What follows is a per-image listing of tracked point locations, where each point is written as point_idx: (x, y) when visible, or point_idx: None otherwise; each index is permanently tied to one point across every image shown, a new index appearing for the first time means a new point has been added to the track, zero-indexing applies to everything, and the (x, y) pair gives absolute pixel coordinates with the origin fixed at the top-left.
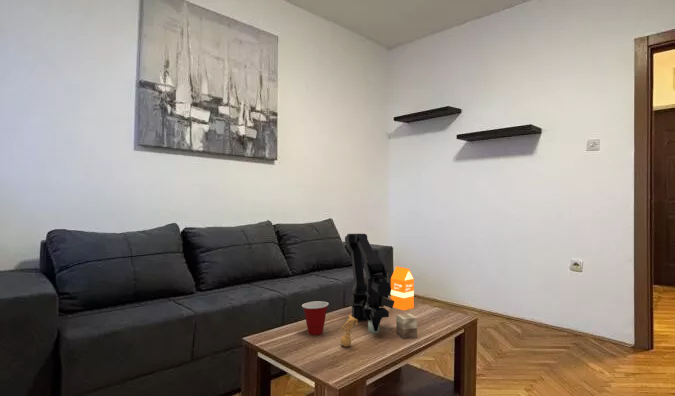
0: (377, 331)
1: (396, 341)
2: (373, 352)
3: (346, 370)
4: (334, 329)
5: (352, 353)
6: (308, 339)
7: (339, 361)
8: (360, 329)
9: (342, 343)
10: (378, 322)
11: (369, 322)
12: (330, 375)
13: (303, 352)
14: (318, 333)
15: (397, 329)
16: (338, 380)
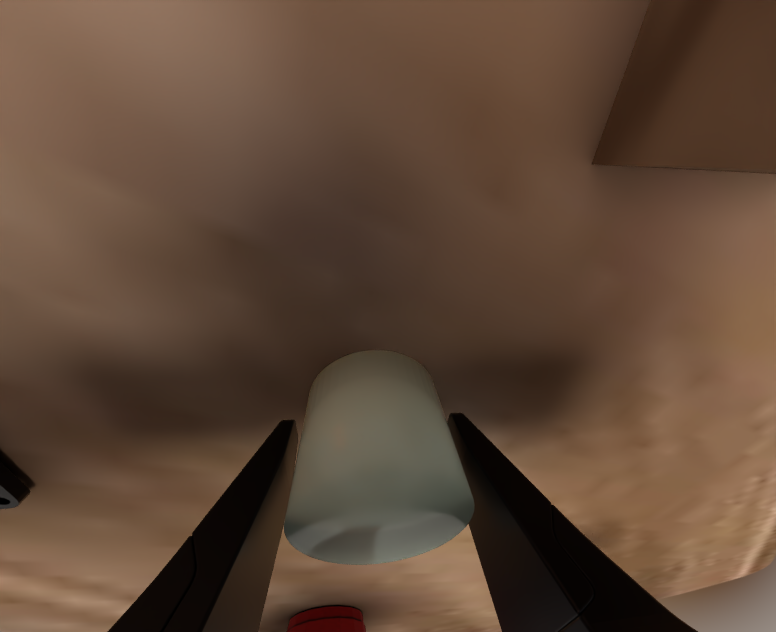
0: (434, 389)
1: (754, 289)
2: (717, 478)
3: (729, 555)
4: (276, 578)
5: (639, 538)
6: (398, 623)
7: (657, 565)
8: None
9: None
10: (561, 536)
11: (405, 557)
12: (709, 578)
13: None
14: (364, 626)
15: (720, 168)
16: (751, 567)
